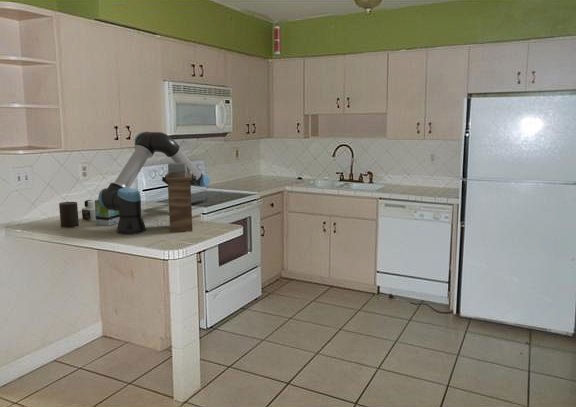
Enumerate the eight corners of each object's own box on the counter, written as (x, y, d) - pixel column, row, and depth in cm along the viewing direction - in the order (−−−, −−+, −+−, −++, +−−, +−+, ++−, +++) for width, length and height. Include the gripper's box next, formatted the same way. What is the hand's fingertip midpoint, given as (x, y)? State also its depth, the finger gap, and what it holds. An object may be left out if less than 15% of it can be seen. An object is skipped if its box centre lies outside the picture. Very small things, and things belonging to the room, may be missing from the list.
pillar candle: (67, 228, 280) (65, 202, 278) (57, 226, 286) (55, 201, 283) (82, 225, 288) (80, 200, 286) (72, 223, 294) (70, 198, 291)
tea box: (109, 226, 286) (107, 201, 283) (95, 225, 290) (93, 200, 287) (126, 220, 300) (124, 196, 297) (112, 219, 303) (111, 195, 301)
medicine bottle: (82, 220, 302) (80, 200, 300) (91, 217, 308) (90, 199, 306) (90, 221, 299) (88, 201, 297) (99, 219, 305) (98, 199, 303)
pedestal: (194, 231, 273) (192, 177, 267) (168, 233, 270) (165, 178, 264) (192, 223, 291) (190, 173, 285) (168, 225, 288) (165, 174, 282)
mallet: (185, 176, 269) (184, 164, 268) (168, 177, 269) (167, 164, 267) (190, 171, 294) (190, 159, 293) (175, 171, 293) (175, 159, 292)
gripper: (199, 191, 315) (201, 178, 295) (159, 193, 309) (157, 180, 290) (198, 180, 317) (200, 167, 298) (158, 181, 312) (157, 168, 292)
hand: (179, 173), depth 294 cm, fingers open, 13 cm apart
